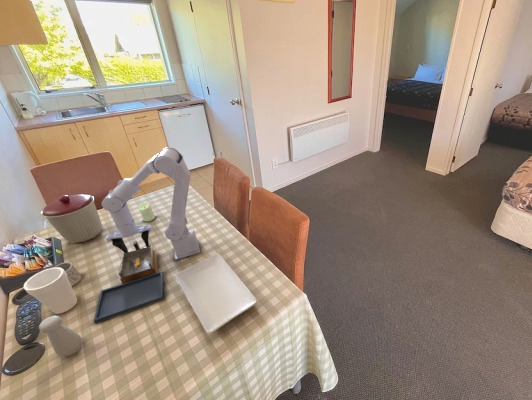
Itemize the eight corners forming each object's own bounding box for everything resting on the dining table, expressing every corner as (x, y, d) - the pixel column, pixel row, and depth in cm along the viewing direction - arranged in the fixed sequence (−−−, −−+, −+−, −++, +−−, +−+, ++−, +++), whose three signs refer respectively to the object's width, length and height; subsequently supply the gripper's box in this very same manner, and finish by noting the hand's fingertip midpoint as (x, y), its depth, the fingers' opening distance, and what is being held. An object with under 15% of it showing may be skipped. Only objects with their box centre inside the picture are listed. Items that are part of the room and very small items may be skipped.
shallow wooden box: (157, 255, 110) (155, 249, 108) (157, 274, 101) (154, 268, 99) (126, 264, 106) (123, 258, 104) (123, 285, 96) (119, 279, 95)
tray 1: (163, 273, 101) (162, 271, 100) (163, 299, 91) (162, 296, 90) (102, 293, 93) (100, 290, 93) (95, 323, 83) (93, 320, 83)
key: (135, 259, 103) (135, 258, 102) (141, 258, 103) (140, 257, 103) (134, 267, 99) (134, 266, 99) (140, 265, 100) (139, 264, 100)
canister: (70, 253, 112) (42, 212, 101) (54, 239, 120) (26, 199, 109) (117, 231, 125) (97, 192, 114) (99, 219, 133) (78, 182, 122)
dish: (153, 247, 110) (149, 237, 107) (152, 268, 99) (148, 258, 96) (125, 255, 106) (120, 245, 103) (121, 278, 95) (115, 268, 93)
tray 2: (209, 341, 78) (206, 334, 76) (176, 280, 98) (173, 273, 96) (260, 308, 87) (258, 301, 85) (220, 258, 108) (218, 252, 106)
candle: (151, 221, 131) (145, 207, 126) (141, 221, 131) (135, 207, 127) (157, 215, 135) (151, 202, 131) (147, 215, 135) (141, 202, 131)
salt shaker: (69, 340, 79) (45, 312, 72) (89, 338, 79) (67, 310, 72) (54, 360, 74) (26, 332, 67) (75, 358, 74) (50, 330, 67)
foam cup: (62, 320, 85) (39, 292, 78) (39, 315, 86) (15, 287, 80) (89, 296, 92) (71, 269, 86) (68, 292, 94) (48, 265, 87)
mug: (79, 272, 102) (71, 259, 99) (82, 281, 98) (73, 268, 95) (45, 286, 96) (35, 273, 93) (46, 297, 92) (35, 284, 89)
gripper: (147, 211, 105) (158, 238, 112) (103, 221, 100) (117, 249, 107) (146, 220, 100) (157, 248, 107) (99, 231, 94) (115, 260, 101)
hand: (137, 249), depth 106 cm, fingers closed on dish, 7 cm apart
